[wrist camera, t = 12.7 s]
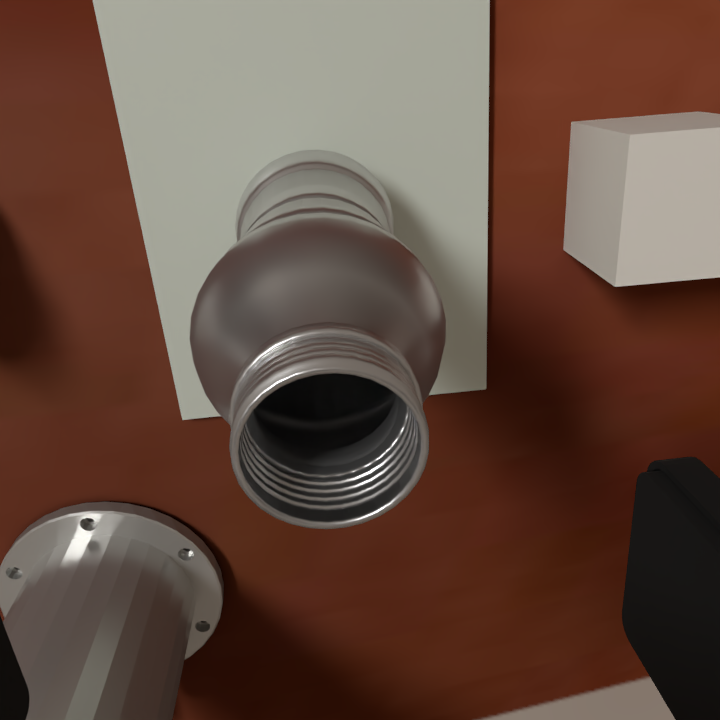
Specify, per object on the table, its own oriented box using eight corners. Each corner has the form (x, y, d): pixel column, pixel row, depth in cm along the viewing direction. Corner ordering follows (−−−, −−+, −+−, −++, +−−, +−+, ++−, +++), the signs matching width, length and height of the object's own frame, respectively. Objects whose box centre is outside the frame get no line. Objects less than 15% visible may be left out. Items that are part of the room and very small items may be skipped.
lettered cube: (686, 238, 33) (762, 273, 27) (563, 249, 32) (614, 287, 27) (704, 110, 30) (792, 121, 25) (570, 121, 30) (629, 134, 25)
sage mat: (483, 384, 35) (486, 389, 35) (184, 414, 35) (182, 419, 34) (486, -51, 27) (490, -53, 26) (92, -21, 26) (87, -23, 26)
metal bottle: (394, 270, 32) (520, 556, 13) (255, 293, 31) (193, 611, 13) (376, 130, 29) (506, 253, 11) (224, 155, 29) (95, 320, 11)
